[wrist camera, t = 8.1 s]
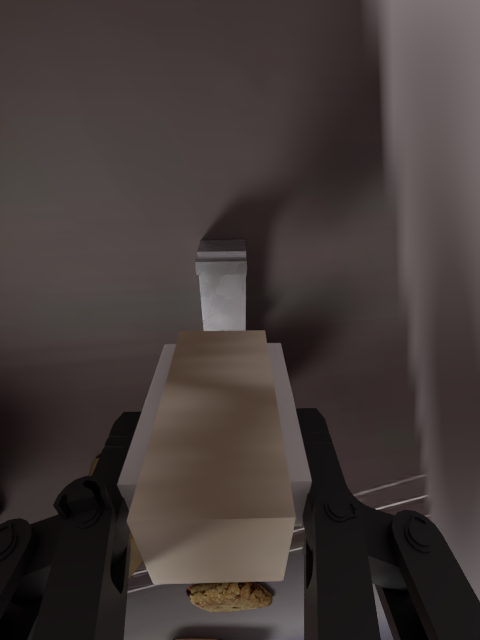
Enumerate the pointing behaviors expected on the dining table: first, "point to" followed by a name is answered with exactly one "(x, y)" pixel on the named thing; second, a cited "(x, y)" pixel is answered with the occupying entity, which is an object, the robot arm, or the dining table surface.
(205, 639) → the bowl
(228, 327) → the grey l-shaped piece
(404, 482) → the dining table surface
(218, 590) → the pastry
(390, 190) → the dining table surface
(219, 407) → the block
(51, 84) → the dining table surface
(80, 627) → the robot arm
